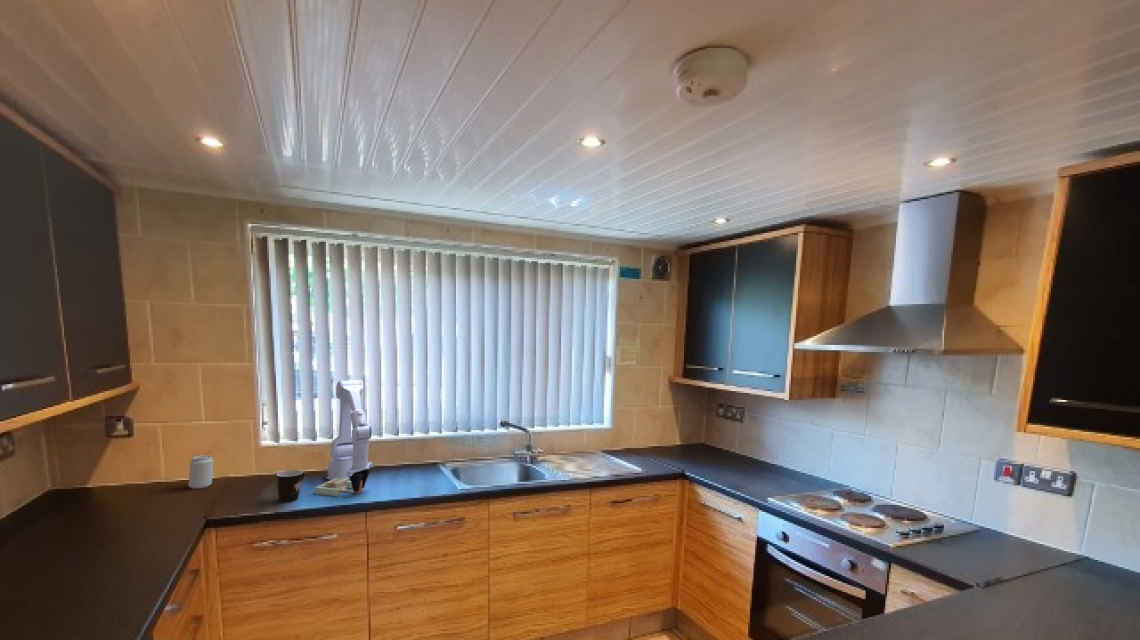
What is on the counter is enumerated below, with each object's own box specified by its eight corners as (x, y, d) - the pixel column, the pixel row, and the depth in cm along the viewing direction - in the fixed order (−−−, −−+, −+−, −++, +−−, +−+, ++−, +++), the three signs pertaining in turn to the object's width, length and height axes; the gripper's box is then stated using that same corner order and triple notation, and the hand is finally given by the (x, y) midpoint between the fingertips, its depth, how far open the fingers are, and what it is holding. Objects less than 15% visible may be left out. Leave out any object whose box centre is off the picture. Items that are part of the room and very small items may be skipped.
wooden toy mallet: (324, 492, 187) (325, 480, 187) (335, 487, 193) (336, 475, 194) (356, 496, 185) (357, 483, 185) (366, 490, 191) (366, 478, 191)
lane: (314, 493, 185) (315, 487, 186) (333, 485, 196) (333, 479, 196) (337, 496, 184) (338, 489, 184) (355, 487, 194) (355, 481, 195)
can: (184, 487, 187) (186, 457, 187) (204, 482, 194) (206, 453, 194) (195, 490, 184) (197, 460, 184) (216, 485, 191) (218, 455, 191)
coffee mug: (282, 505, 172) (284, 478, 173) (270, 500, 177) (272, 473, 177) (313, 496, 182) (315, 471, 183) (301, 492, 187) (303, 467, 187)
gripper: (358, 460, 181) (356, 496, 180) (379, 452, 195) (377, 484, 195) (342, 459, 182) (340, 494, 182) (364, 450, 196) (362, 483, 196)
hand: (358, 489), depth 188 cm, fingers closed on wooden toy mallet, 3 cm apart
